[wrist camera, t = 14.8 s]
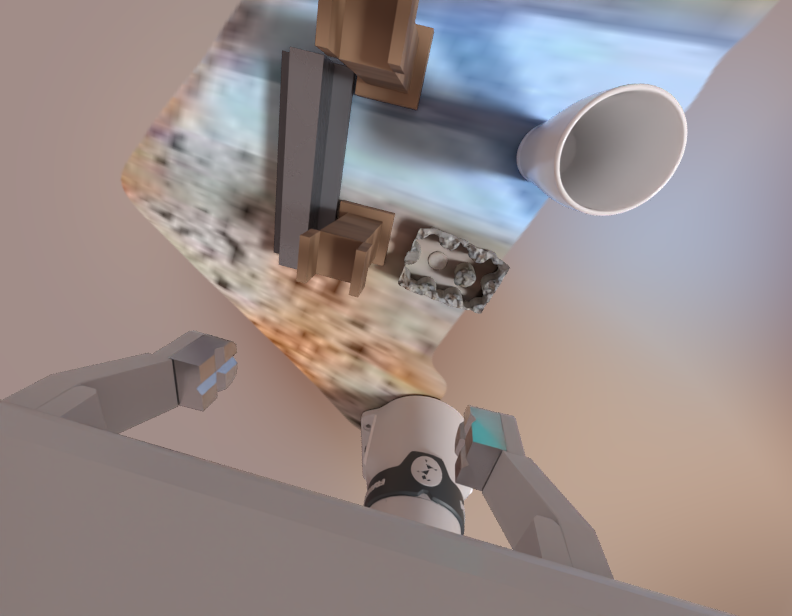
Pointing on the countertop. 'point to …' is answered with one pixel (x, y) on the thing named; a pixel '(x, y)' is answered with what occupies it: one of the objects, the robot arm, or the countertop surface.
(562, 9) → the countertop surface
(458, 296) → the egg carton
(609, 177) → the drinking glass
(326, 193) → the grey flat bar
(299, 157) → the rail
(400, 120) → the countertop surface
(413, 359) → the countertop surface
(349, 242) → the post
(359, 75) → the post
